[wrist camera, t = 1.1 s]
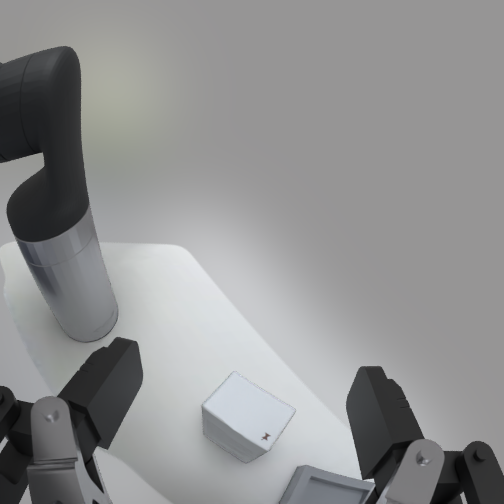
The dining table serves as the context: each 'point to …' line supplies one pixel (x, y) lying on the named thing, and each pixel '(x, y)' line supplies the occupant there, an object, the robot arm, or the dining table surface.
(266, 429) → the skincare box
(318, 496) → the gray tray
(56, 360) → the dining table surface
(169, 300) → the dining table surface
